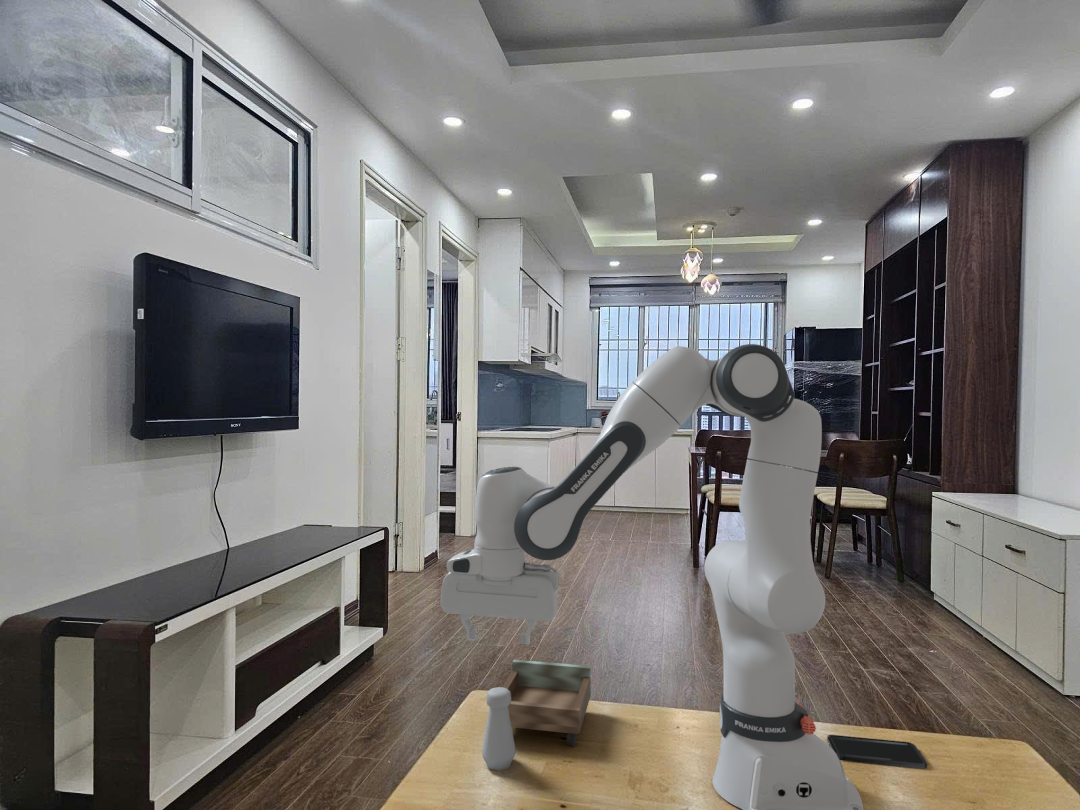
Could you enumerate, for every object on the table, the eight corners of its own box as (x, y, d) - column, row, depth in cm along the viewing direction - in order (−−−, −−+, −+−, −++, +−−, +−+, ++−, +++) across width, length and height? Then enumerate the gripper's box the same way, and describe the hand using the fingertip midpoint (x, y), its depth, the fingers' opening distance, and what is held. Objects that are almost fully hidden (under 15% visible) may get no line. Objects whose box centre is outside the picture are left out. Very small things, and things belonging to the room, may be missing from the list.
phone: (825, 734, 125) (913, 742, 122) (825, 740, 125) (913, 748, 122) (835, 756, 117) (929, 765, 114) (835, 762, 117) (929, 772, 114)
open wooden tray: (590, 710, 135) (590, 666, 135) (579, 751, 119) (579, 700, 119) (513, 702, 138) (513, 659, 138) (492, 741, 123) (493, 692, 122)
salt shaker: (500, 752, 119) (500, 680, 119) (522, 765, 115) (522, 690, 115) (474, 765, 115) (475, 690, 115) (496, 778, 111) (497, 700, 111)
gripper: (562, 561, 116) (560, 640, 116) (450, 553, 120) (448, 630, 120) (555, 569, 110) (554, 653, 110) (437, 561, 114) (436, 642, 114)
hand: (498, 641), depth 115 cm, fingers open, 8 cm apart
